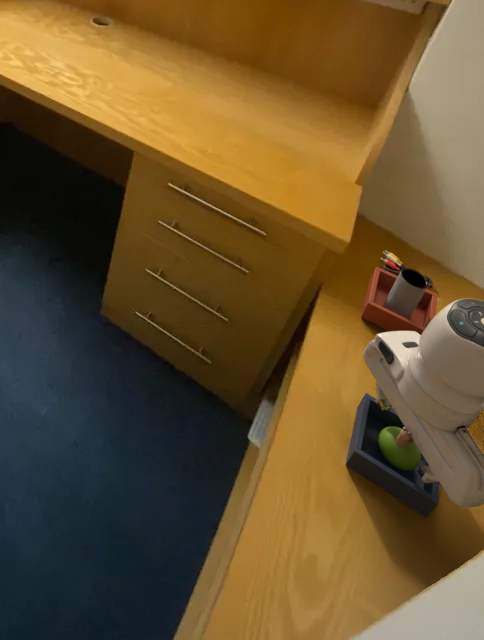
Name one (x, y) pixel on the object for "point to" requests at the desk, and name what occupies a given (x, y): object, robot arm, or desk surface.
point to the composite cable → (396, 265)
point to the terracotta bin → (389, 320)
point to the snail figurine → (399, 448)
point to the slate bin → (377, 469)
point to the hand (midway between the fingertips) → (402, 439)
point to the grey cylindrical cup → (406, 292)
